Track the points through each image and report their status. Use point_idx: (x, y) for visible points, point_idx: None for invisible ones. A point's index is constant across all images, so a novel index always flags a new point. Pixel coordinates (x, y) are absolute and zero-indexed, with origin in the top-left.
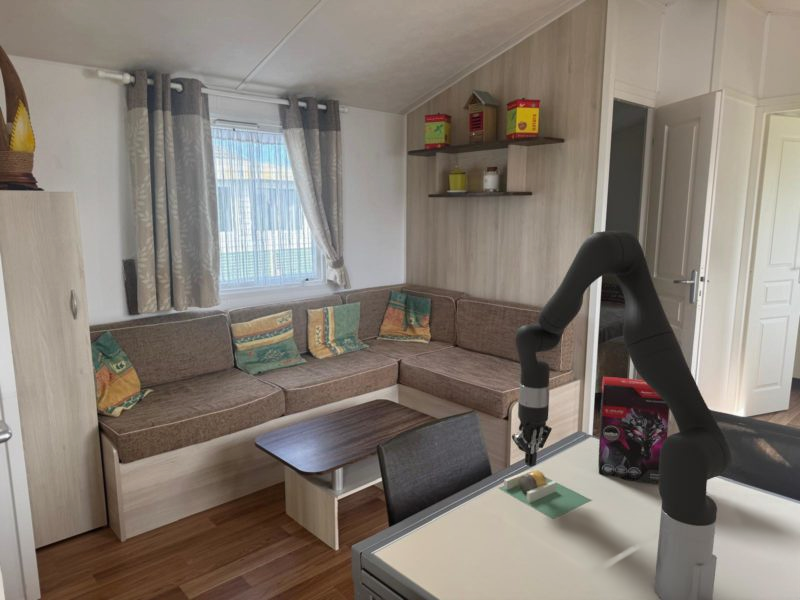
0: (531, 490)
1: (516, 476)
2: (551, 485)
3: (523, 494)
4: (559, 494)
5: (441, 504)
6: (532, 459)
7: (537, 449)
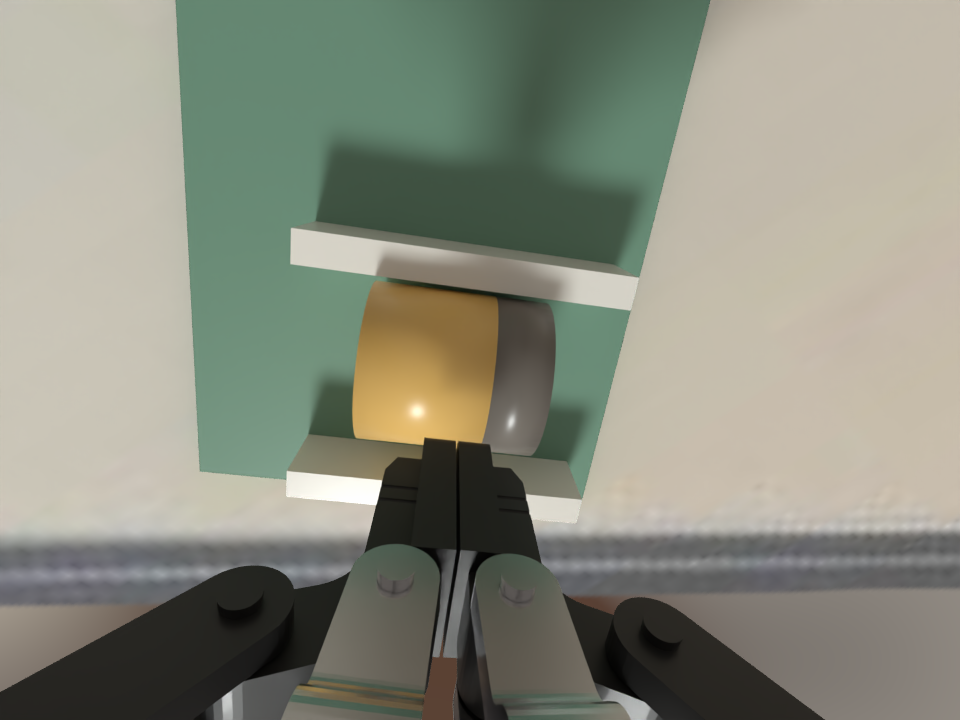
0: (581, 298)
1: None
2: (358, 237)
3: None
4: (332, 170)
5: (892, 585)
6: (492, 493)
7: (400, 578)
